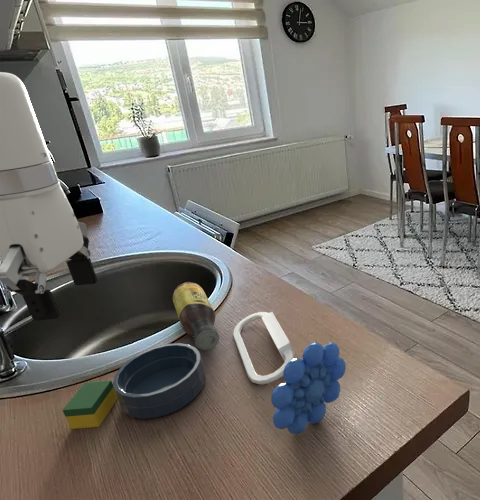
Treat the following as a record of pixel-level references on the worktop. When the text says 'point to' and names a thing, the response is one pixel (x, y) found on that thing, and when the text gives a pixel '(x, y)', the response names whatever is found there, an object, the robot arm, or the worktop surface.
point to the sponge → (90, 404)
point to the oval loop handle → (279, 340)
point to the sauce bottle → (196, 315)
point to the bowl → (159, 380)
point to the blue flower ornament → (308, 387)
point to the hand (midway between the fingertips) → (68, 299)
